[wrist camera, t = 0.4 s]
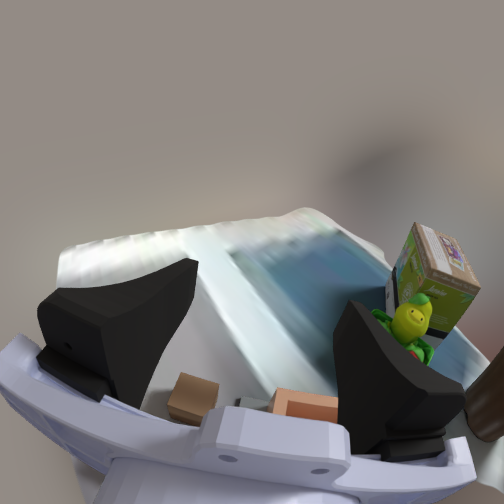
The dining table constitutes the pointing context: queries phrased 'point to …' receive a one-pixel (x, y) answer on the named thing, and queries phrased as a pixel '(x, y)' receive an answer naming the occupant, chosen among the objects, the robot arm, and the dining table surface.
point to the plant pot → (487, 401)
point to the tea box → (433, 280)
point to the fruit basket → (410, 326)
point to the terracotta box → (304, 405)
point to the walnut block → (192, 399)
